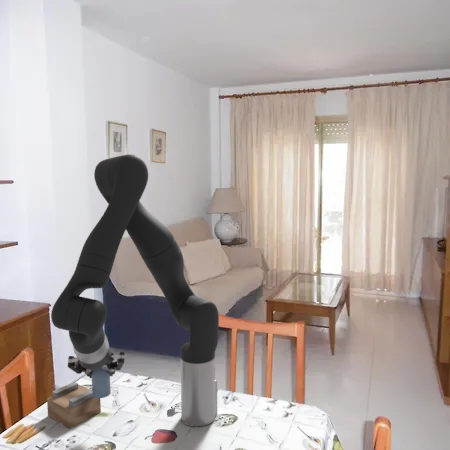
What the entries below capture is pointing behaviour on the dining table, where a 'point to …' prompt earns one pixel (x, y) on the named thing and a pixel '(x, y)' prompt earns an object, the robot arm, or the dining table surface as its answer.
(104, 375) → the ball-topped blue cylinder
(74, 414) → the display plinth
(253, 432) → the dining table surface
